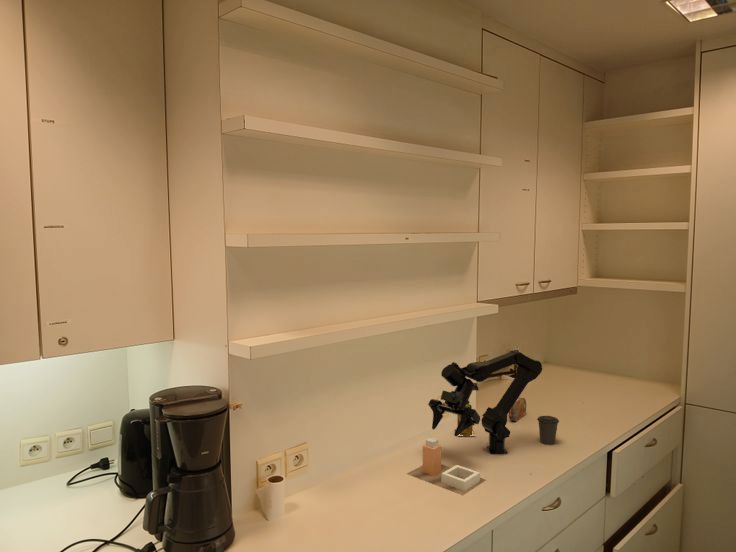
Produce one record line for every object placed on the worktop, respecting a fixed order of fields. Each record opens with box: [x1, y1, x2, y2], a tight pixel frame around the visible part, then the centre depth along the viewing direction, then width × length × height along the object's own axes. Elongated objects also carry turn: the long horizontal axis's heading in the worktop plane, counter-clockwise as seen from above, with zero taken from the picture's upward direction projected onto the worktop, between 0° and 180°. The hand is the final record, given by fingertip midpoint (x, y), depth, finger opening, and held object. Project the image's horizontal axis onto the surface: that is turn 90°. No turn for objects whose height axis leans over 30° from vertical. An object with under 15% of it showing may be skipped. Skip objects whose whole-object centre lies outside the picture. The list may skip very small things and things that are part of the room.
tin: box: [508, 397, 527, 422], centre depth 236 cm, size 15×3×8 cm, turn 143°
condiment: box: [456, 403, 474, 436], centre depth 218 cm, size 7×8×12 cm
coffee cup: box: [536, 415, 560, 446], centre depth 208 cm, size 8×8×10 cm
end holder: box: [441, 464, 481, 491], centre depth 172 cm, size 9×9×3 cm
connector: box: [422, 437, 442, 476], centre depth 180 cm, size 4×4×11 cm
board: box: [406, 463, 487, 496], centre depth 176 cm, size 22×14×1 cm, turn 47°
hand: (443, 432), depth 184 cm, fingers open, 9 cm apart
